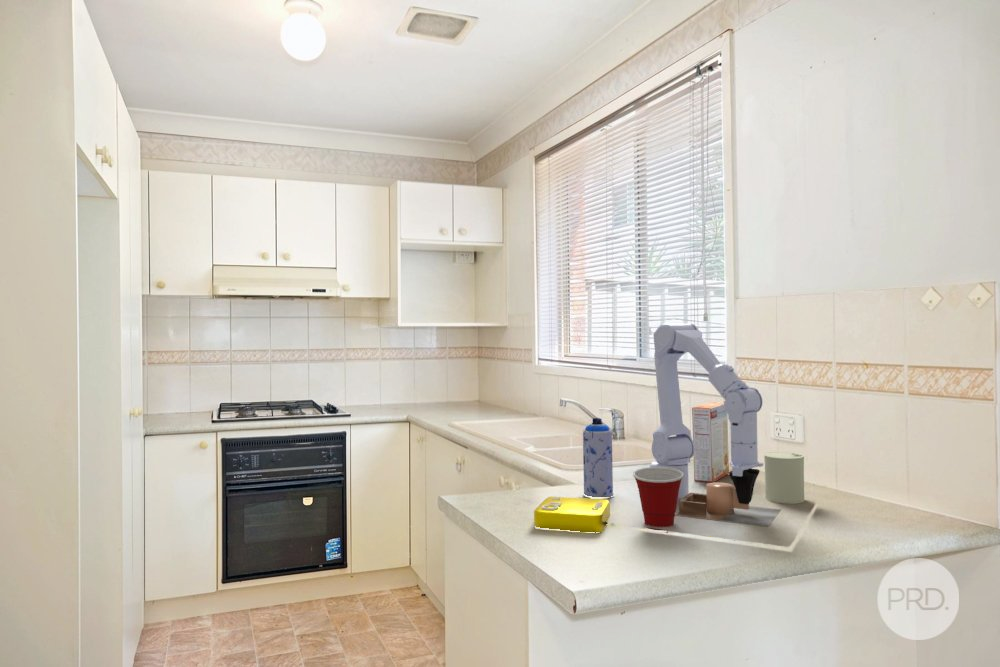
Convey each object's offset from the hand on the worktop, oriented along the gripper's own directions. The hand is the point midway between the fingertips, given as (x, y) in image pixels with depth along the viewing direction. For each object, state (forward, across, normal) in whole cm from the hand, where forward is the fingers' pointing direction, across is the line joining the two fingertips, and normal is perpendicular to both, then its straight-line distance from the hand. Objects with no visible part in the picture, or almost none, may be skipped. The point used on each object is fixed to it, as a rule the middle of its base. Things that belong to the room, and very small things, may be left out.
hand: (744, 502), depth 159 cm
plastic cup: (+4, -16, +15) cm, 22 cm away
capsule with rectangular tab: (+3, 0, +4) cm, 5 cm away
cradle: (+3, 0, +4) cm, 5 cm away
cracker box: (+4, +40, +18) cm, 44 cm away
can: (+4, +19, -5) cm, 20 cm away
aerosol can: (+4, +5, +38) cm, 38 cm away
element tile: (+4, -21, +33) cm, 39 cm away
